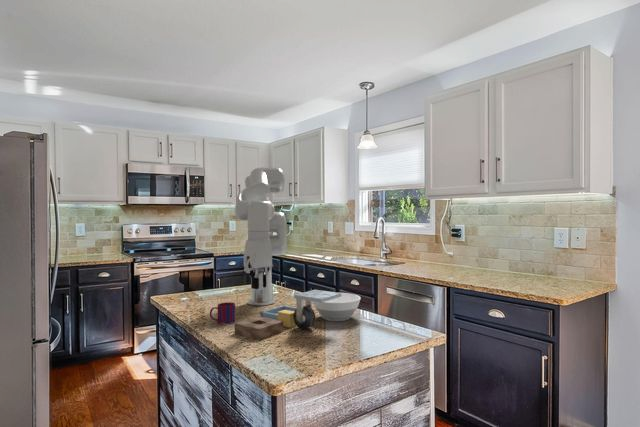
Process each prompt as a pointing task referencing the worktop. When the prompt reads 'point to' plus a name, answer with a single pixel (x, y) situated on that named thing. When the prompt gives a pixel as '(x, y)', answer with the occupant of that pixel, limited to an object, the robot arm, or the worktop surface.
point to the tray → (275, 312)
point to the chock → (286, 318)
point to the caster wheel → (310, 306)
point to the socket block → (258, 327)
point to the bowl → (338, 307)
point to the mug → (225, 313)
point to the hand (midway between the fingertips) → (258, 287)
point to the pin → (259, 291)
